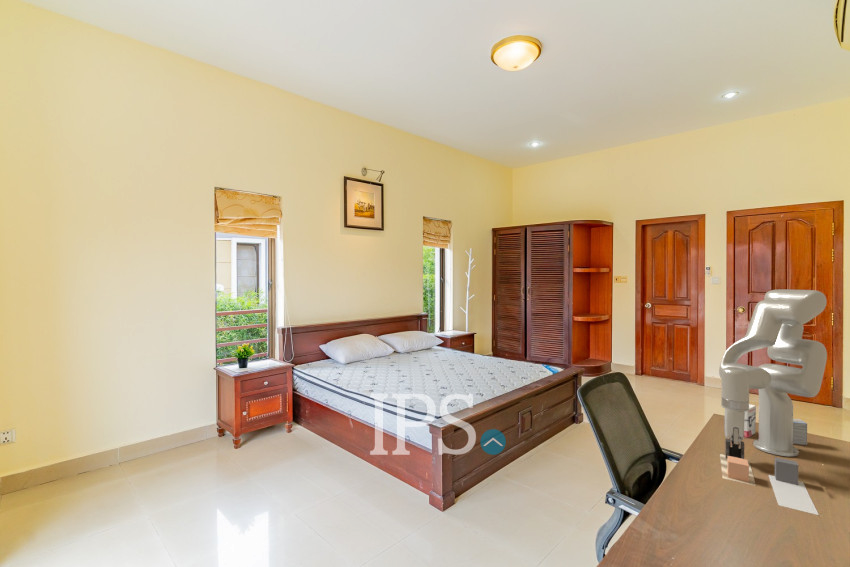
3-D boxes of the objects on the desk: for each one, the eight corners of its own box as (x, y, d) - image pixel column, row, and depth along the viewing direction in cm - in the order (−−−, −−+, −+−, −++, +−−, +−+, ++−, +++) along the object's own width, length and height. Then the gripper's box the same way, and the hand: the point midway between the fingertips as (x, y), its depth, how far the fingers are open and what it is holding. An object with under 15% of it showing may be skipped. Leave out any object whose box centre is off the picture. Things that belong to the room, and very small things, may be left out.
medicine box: (800, 441, 152) (800, 419, 152) (807, 445, 148) (807, 423, 148) (775, 438, 155) (775, 416, 154) (781, 443, 150) (781, 420, 150)
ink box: (748, 438, 155) (748, 408, 155) (733, 434, 159) (733, 405, 159) (756, 433, 160) (756, 404, 159) (741, 429, 164) (741, 401, 164)
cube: (727, 470, 127) (727, 455, 127) (747, 475, 124) (747, 459, 124) (728, 477, 123) (728, 461, 123) (748, 482, 120) (748, 466, 120)
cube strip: (719, 457, 139) (720, 437, 139) (749, 463, 134) (749, 442, 134) (722, 481, 122) (722, 459, 122) (755, 489, 118) (755, 466, 118)
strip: (768, 478, 124) (768, 456, 124) (802, 486, 120) (803, 462, 119) (778, 509, 108) (778, 483, 108) (818, 519, 103) (819, 492, 103)
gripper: (720, 396, 144) (720, 445, 144) (722, 408, 130) (722, 463, 131) (746, 399, 139) (746, 450, 140) (751, 412, 126) (751, 469, 126)
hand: (734, 456), depth 135 cm, fingers closed on cube strip, 3 cm apart
